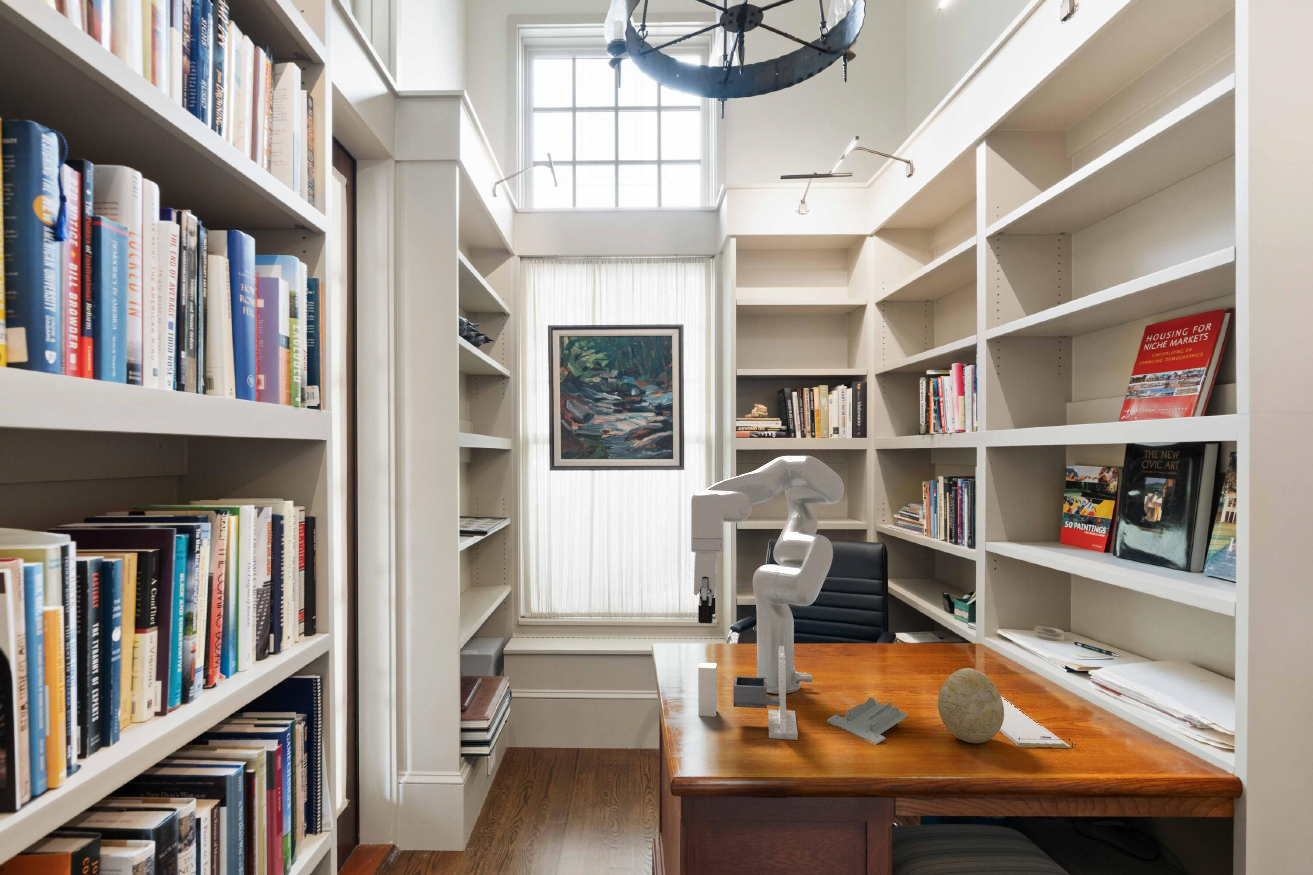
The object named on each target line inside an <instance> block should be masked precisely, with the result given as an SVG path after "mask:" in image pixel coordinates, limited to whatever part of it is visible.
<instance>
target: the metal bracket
mask: <svg viewBox="0 0 1313 875" xmlns="http://www.w3.org/2000/svg"><path fill="white" fill-rule="evenodd" d="M908 717H909V714H908V713H905V712H903V711H901V710H900V709H899V707H897V706H894V707H893V702H892V701H889V702H887V703H886V704H883V703H881V702H878V701H876V700H875V698H874V697H872V696H870V697H869V698H868V699H867V700H866V701H865V702H863V703H860V704H856V705H855V706H854V707H852V708H850V709H848V710H847V711H846V712H845V715H844V716H840V715H837V714H834V715H833V716H830V717H829V718H828V719H827V720H826V722H827V723H829V724H831V725H833V726H834V727H838V728H839V729H843V730H844V729H845V730H844V731H847V732H849V733H850V734H853V735H855V736H857V737H860V738H861V739H863V738H864V739H866V740H867V741H866V740H865V741H866V742H868V741H871V742H873V743H875V744H874V745H878V744H880V743H881V742H883V741H884V740H886V737H885V736H884V735H881V734H883V733H884V732H886V731H887V730H889V729H890V728H892V727H894V726H895V725H896V724H897V726H899V723H900V722H901V721H903V720H904V719H906V718H908ZM864 739H863V740H864Z"/></svg>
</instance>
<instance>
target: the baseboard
mask: <svg viewBox="0 0 1313 875" xmlns="http://www.w3.org/2000/svg"><path fill="white" fill-rule="evenodd" d="M1001 699H1002V702H1003V706H1004V720H1003V724H1002V726H1001V728H1000V730H999V732H1000V731H1001V732H1002V733H1001V732H1000V733H1001V734H1003V735H1004V736H1005V737H1006V738H1008V739H1009V741H1011V742H1012V743H1015V744H1014V745H1016V746H1017V747H1018V748H1036V747H1052V748H1053V749H1074V748H1075V749H1077V743H1074V742H1071V739H1070V738H1068V742H1071V745H1069V744H1068V743H1066V742H1065V740H1066V741H1067V739H1063V738H1062V739H1061V738H1060V737H1059V736H1057V735H1055V734H1054V733H1053V732H1052V731H1050V730H1048V728H1046V727H1045V726H1044V725H1042V726H1040V725H1041V724H1040V723H1039V722H1038V723H1036V722H1037V721H1036V722H1034V721H1033V720H1034V719H1033V718H1032V719H1033V720H1032V719H1030V718H1029V717H1030V716H1029V715H1028V716H1029V717H1028V716H1026V715H1025V714H1026V713H1025V714H1023V713H1022V712H1021V711H1022V710H1021V709H1020V708H1018V707H1017V708H1018V709H1017V708H1015V707H1014V706H1015V705H1014V703H1012V705H1011V704H1010V703H1011V702H1010V701H1009V700H1007V699H1006V698H1005V697H1003V696H1001ZM1004 699H1006V700H1007V701H1008V702H1007V701H1006V700H1004ZM1019 710H1021V711H1019ZM1038 724H1040V725H1038ZM1074 745H1075V747H1074ZM1052 748H1051V749H1052Z"/></svg>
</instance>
